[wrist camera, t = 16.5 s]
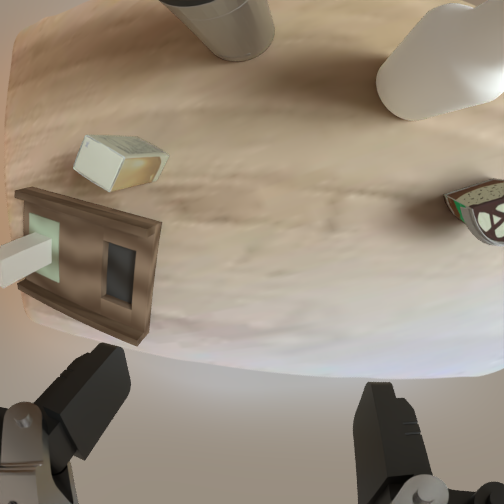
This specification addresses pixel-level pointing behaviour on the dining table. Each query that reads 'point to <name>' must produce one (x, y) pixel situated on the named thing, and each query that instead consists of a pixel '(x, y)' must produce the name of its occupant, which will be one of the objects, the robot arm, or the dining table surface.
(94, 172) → the skincare box
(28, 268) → the block
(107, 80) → the dining table surface
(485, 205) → the food container
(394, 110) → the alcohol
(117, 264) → the channel
